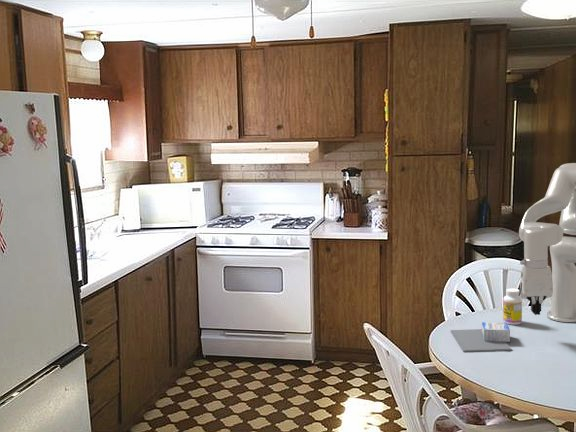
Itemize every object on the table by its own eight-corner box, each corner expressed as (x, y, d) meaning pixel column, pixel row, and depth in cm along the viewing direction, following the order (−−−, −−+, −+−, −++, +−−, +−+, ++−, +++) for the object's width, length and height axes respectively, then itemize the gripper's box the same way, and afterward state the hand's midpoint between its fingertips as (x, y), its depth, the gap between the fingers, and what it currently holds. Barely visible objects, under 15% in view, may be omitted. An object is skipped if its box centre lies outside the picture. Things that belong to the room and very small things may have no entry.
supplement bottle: (499, 320, 236) (500, 288, 234) (515, 318, 237) (515, 286, 235) (509, 326, 230) (509, 293, 228) (525, 324, 231) (525, 291, 229)
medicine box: (510, 329, 212) (484, 329, 213) (510, 342, 212) (483, 341, 214) (506, 322, 219) (481, 321, 221) (506, 334, 220) (481, 333, 222)
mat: (450, 331, 227) (450, 330, 227) (494, 330, 226) (494, 328, 226) (463, 351, 207) (463, 350, 207) (511, 350, 206) (511, 348, 206)
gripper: (517, 267, 208) (517, 318, 212) (562, 264, 207) (562, 316, 211) (510, 261, 216) (511, 311, 219) (553, 258, 215) (553, 308, 218)
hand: (536, 313), depth 215 cm, fingers closed
